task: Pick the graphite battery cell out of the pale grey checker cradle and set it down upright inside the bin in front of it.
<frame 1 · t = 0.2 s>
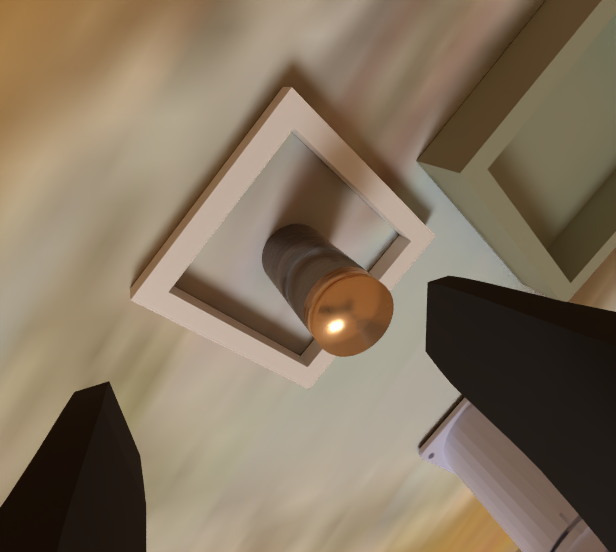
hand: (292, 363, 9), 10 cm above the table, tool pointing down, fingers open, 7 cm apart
battery cell: (319, 282, 17), in the checker cradle
checker cradle: (293, 255, 19), on the table
bin: (550, 142, 22), on the table
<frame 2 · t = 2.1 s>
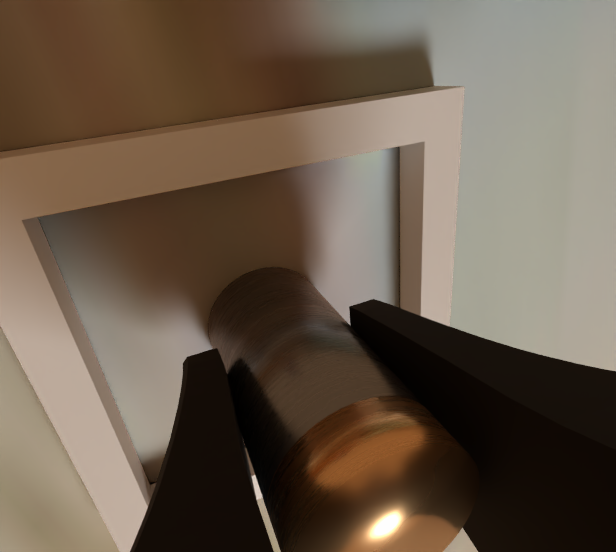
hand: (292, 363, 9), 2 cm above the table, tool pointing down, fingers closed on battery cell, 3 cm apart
battery cell: (310, 394, 8), in the checker cradle, touching gripper
checker cradle: (267, 321, 11), on the table
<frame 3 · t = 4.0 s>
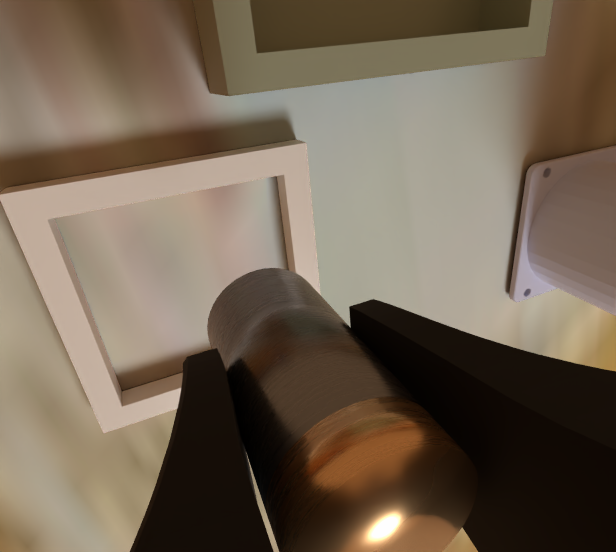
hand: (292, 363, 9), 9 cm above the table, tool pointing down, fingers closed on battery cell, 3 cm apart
battery cell: (309, 394, 8), point 10 cm above the table, touching gripper
checker cradle: (195, 284, 17), on the table
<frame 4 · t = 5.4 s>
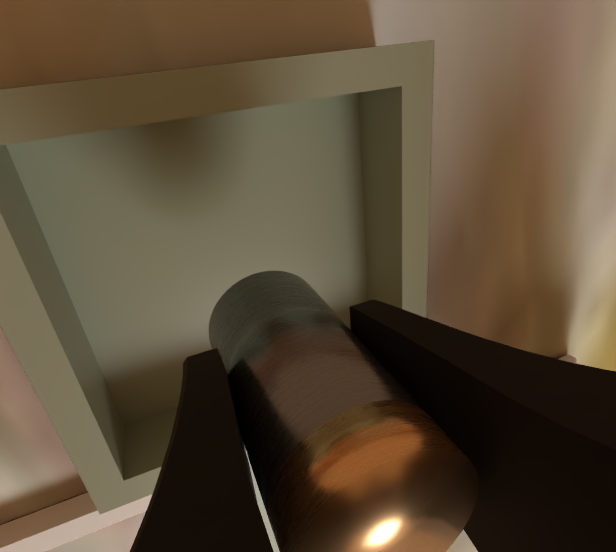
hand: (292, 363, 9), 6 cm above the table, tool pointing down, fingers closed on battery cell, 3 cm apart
battery cell: (310, 397, 8), point 8 cm above the table, touching gripper
bin: (230, 259, 15), on the table
when the fingers open (4 cm above the table, at t = 6.2 s): battery cell drops 1 cm, resting on bin.
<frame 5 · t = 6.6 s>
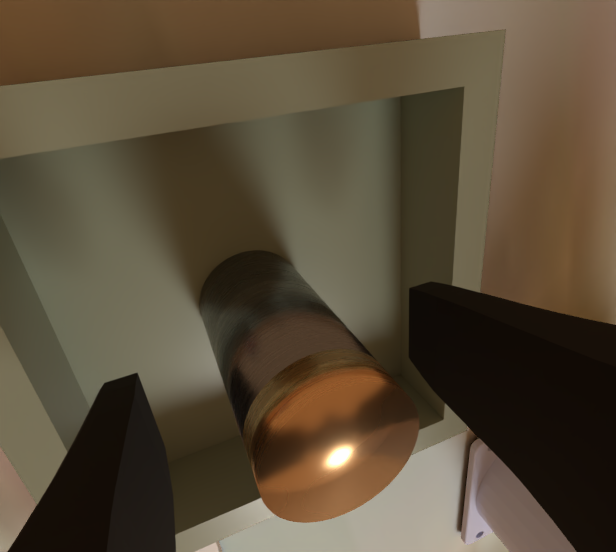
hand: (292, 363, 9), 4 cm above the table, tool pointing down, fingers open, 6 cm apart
battery cell: (286, 357, 10), in the bin
bin: (247, 289, 13), on the table
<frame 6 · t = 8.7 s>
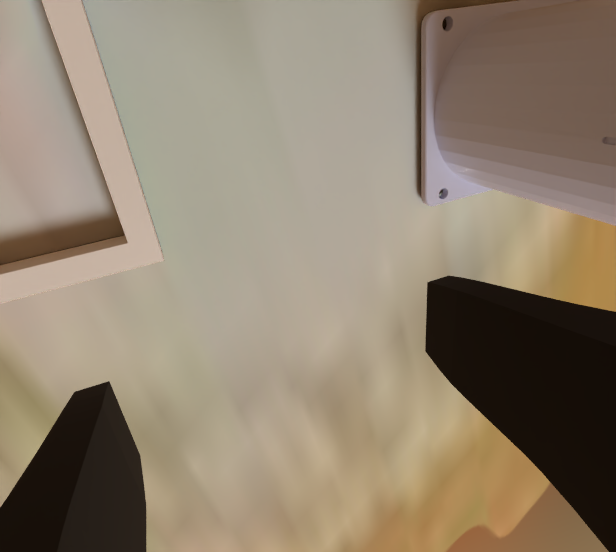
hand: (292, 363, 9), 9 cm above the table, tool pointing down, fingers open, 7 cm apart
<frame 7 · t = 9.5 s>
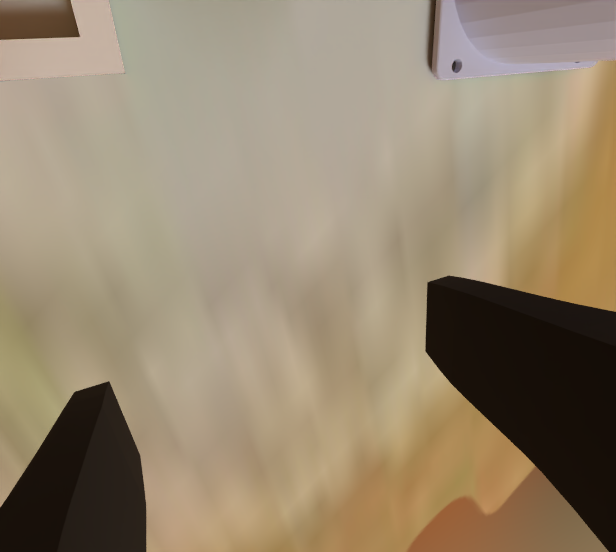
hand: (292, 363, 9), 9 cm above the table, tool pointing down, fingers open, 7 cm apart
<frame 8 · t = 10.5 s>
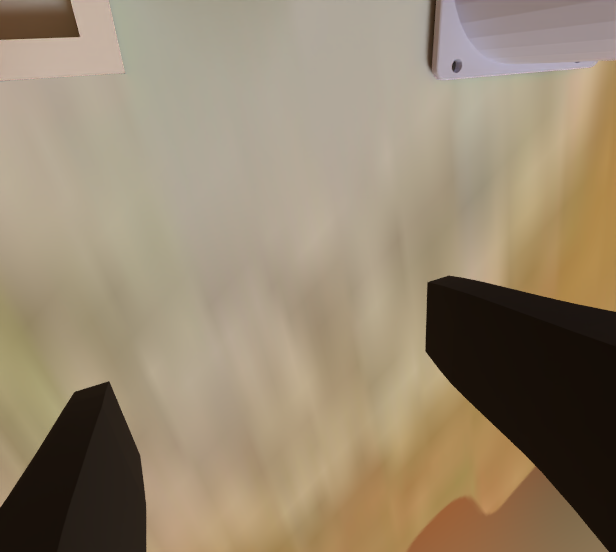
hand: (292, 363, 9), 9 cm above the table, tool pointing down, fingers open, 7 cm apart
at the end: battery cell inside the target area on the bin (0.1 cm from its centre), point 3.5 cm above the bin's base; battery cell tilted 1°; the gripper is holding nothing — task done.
